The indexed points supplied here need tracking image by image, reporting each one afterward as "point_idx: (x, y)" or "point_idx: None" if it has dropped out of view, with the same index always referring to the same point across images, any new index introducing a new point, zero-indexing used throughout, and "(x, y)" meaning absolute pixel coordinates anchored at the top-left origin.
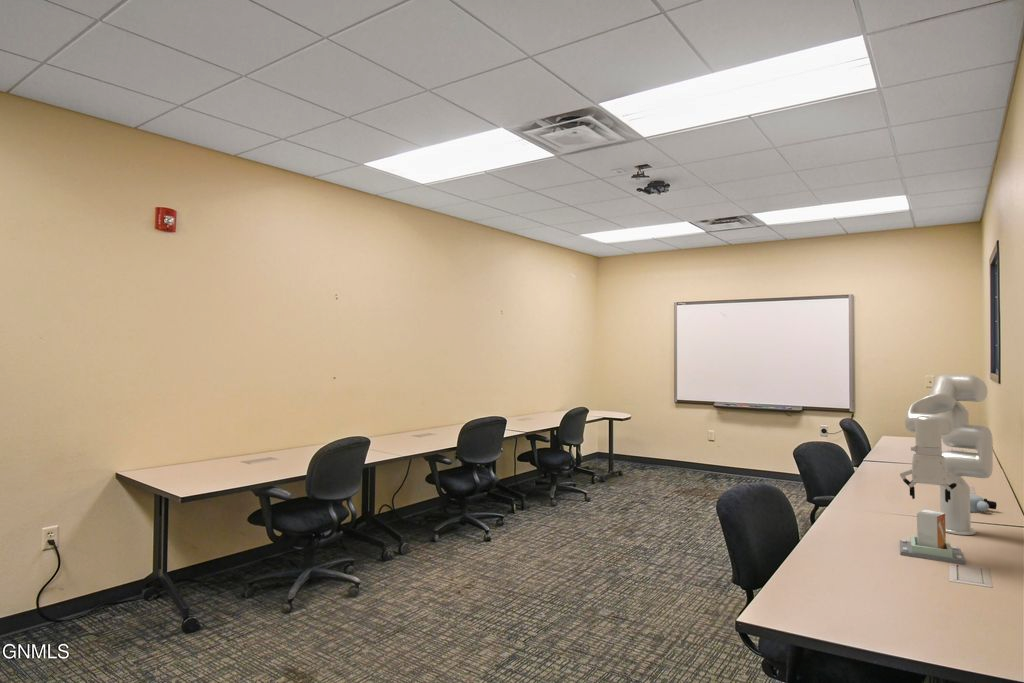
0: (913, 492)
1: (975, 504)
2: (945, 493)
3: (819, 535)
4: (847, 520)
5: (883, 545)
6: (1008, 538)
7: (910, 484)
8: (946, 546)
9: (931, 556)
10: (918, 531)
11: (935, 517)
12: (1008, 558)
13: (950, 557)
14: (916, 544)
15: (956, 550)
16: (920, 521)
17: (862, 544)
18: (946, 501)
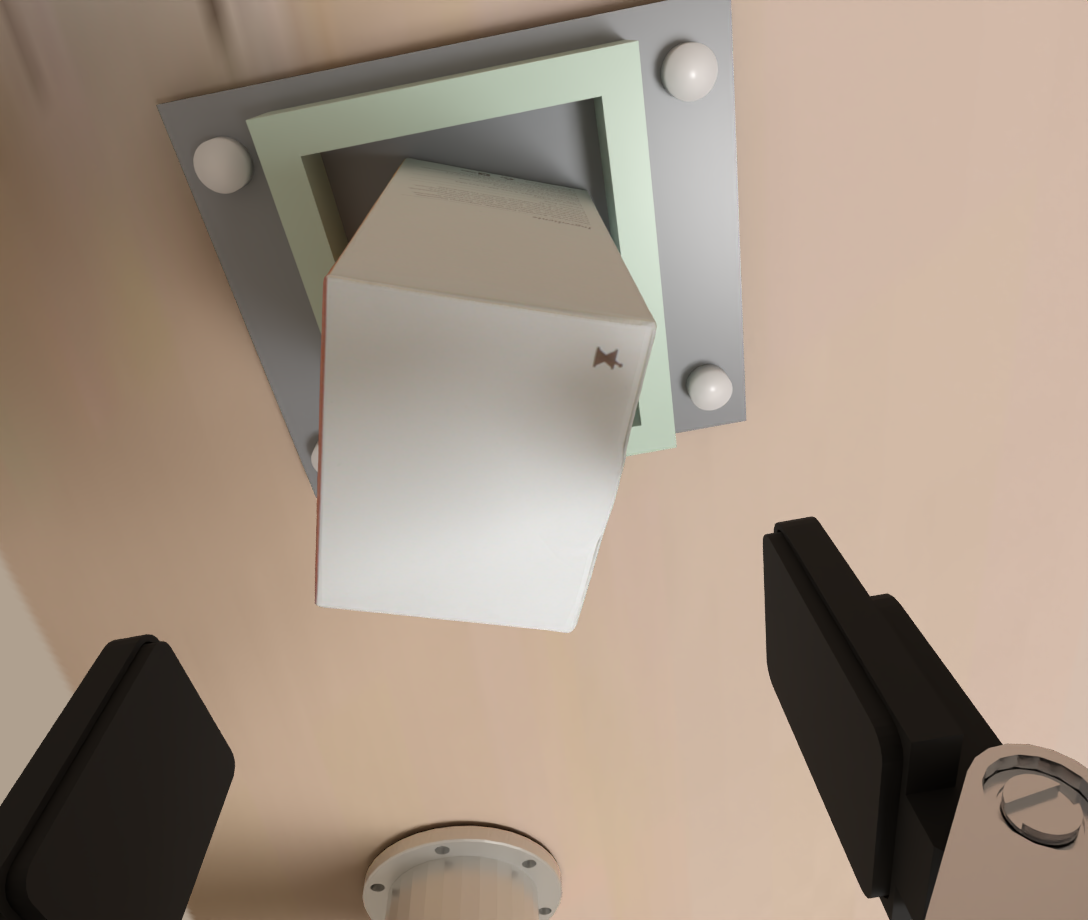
0: (852, 623)
1: None
2: (80, 831)
3: None
4: (1060, 730)
5: (865, 245)
6: (218, 906)
7: (1074, 860)
8: None
9: (443, 48)
10: (597, 233)
11: (358, 269)
12: (38, 545)
13: (283, 109)
14: None
15: None
16: (587, 270)
17: (1054, 131)
18: (144, 645)
